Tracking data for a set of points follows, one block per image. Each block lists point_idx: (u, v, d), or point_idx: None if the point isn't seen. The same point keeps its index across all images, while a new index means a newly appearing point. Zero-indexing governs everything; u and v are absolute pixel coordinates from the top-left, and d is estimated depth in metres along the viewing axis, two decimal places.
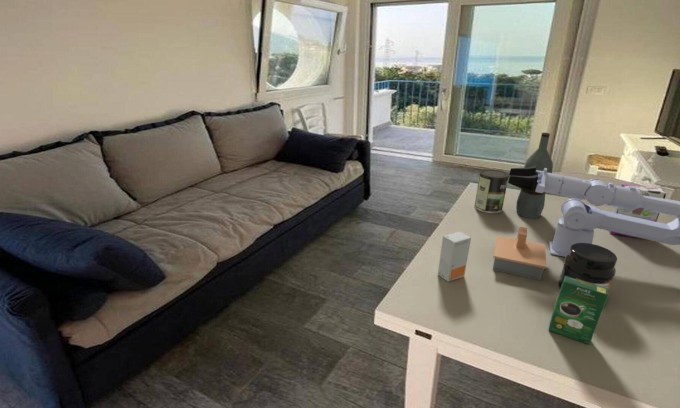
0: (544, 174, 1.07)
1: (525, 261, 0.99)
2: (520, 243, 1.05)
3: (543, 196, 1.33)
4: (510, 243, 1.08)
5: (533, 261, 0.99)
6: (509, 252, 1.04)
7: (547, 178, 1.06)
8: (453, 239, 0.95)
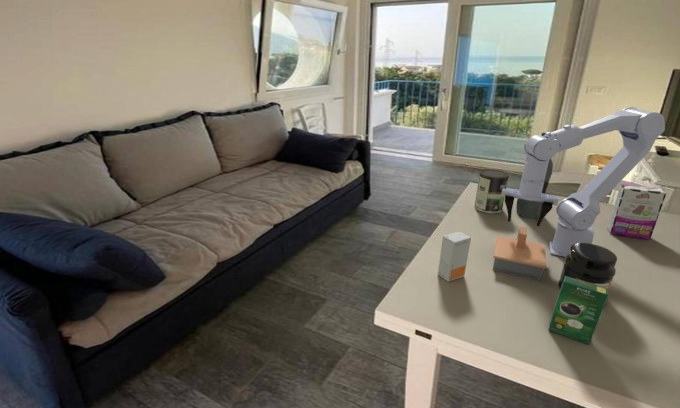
0: (535, 199, 1.04)
1: (525, 261, 0.99)
2: (520, 243, 1.05)
3: None
4: (510, 243, 1.08)
5: (533, 261, 0.99)
6: (509, 252, 1.04)
7: (538, 194, 1.04)
8: (453, 239, 0.95)
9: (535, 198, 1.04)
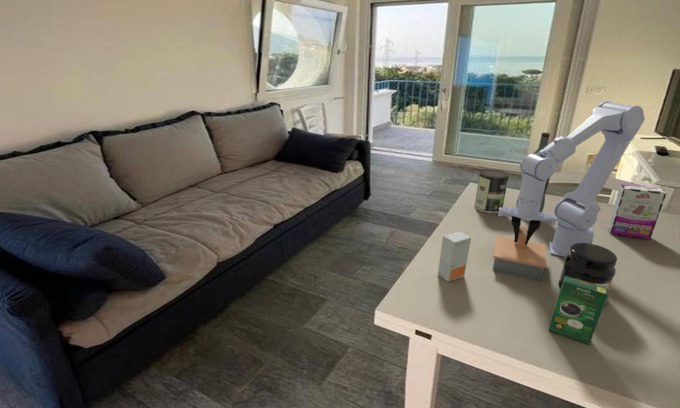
0: (533, 219, 1.01)
1: (525, 261, 0.99)
2: (520, 243, 1.05)
3: (543, 196, 1.33)
4: (510, 243, 1.08)
5: (533, 261, 0.99)
6: (509, 252, 1.04)
7: (536, 214, 1.01)
8: (453, 239, 0.95)
9: (533, 218, 1.01)
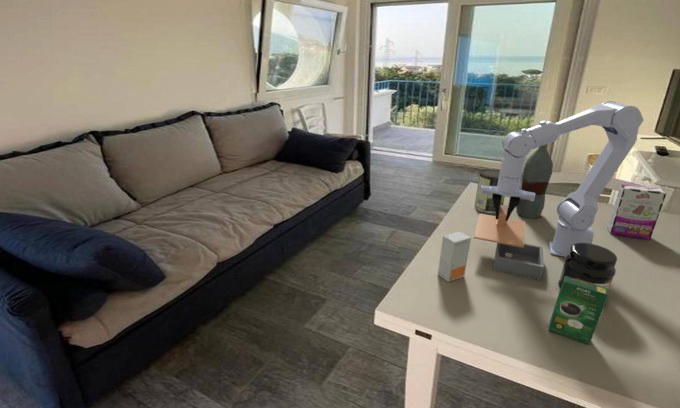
0: (512, 195, 1.05)
1: (504, 241, 1.04)
2: (500, 222, 1.09)
3: (543, 196, 1.33)
4: (491, 221, 1.12)
5: (511, 240, 1.04)
6: (489, 231, 1.08)
7: (515, 191, 1.05)
8: (453, 239, 0.95)
9: (512, 194, 1.05)
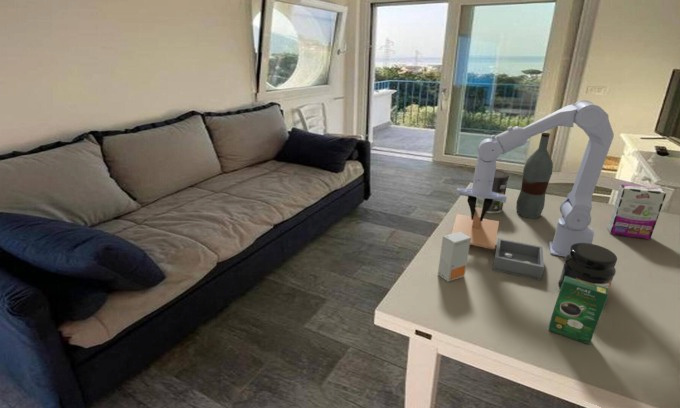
0: (485, 197, 1.12)
1: (477, 243, 1.13)
2: (475, 223, 1.17)
3: (543, 196, 1.33)
4: (467, 222, 1.20)
5: (483, 242, 1.12)
6: (464, 233, 1.17)
7: (488, 193, 1.13)
8: (453, 239, 0.95)
9: (485, 196, 1.13)
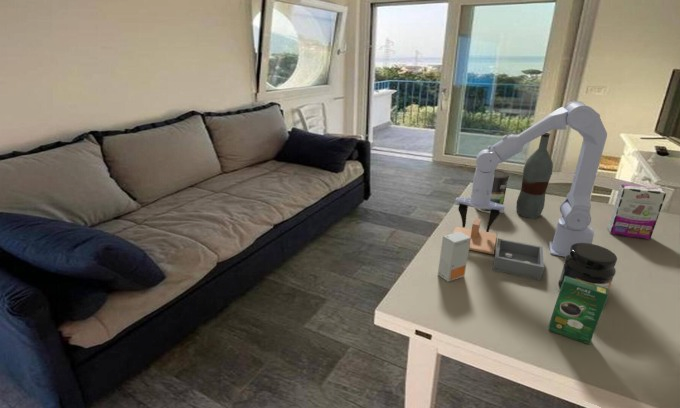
0: (484, 207, 1.14)
1: (476, 248, 1.13)
2: (474, 232, 1.19)
3: (543, 196, 1.33)
4: (466, 233, 1.22)
5: (483, 248, 1.13)
6: None
7: (487, 203, 1.14)
8: (453, 239, 0.95)
9: (484, 206, 1.14)
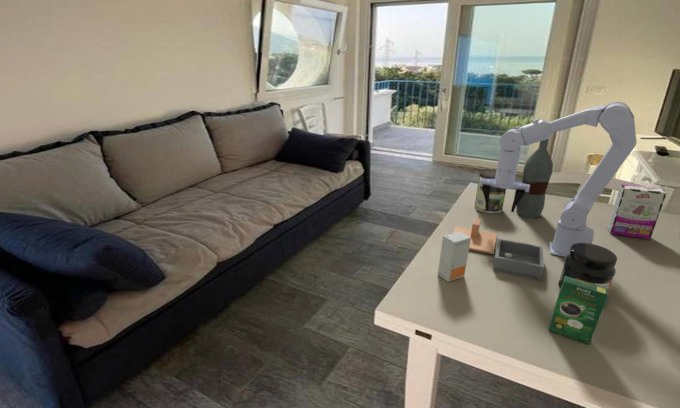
0: (509, 186, 1.14)
1: (476, 248, 1.13)
2: (474, 232, 1.19)
3: (543, 196, 1.33)
4: (466, 233, 1.22)
5: (483, 248, 1.13)
6: None
7: (512, 183, 1.15)
8: (453, 239, 0.95)
9: (509, 186, 1.15)
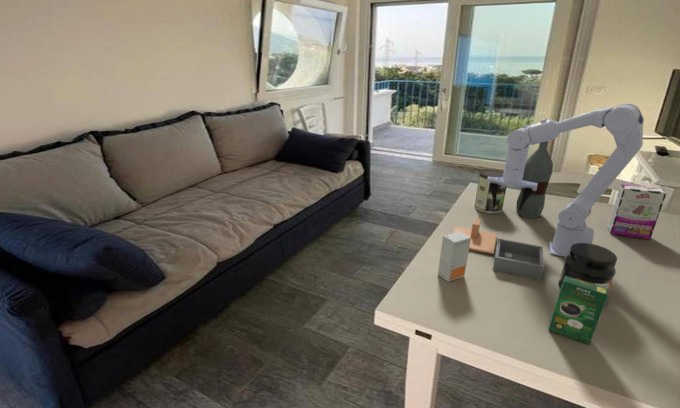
0: (516, 185, 1.16)
1: (476, 248, 1.13)
2: (474, 232, 1.19)
3: (543, 196, 1.33)
4: (466, 233, 1.22)
5: (483, 248, 1.13)
6: None
7: (519, 181, 1.16)
8: (453, 239, 0.95)
9: (516, 184, 1.16)
